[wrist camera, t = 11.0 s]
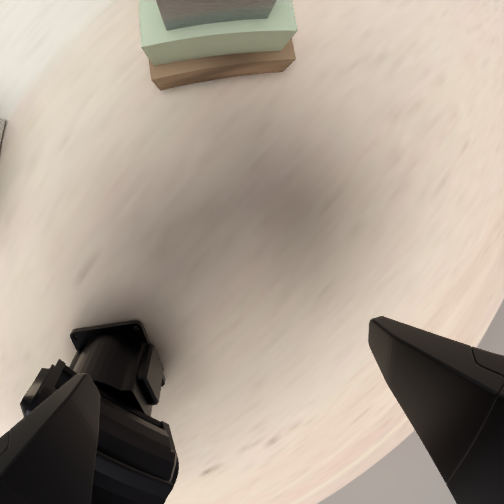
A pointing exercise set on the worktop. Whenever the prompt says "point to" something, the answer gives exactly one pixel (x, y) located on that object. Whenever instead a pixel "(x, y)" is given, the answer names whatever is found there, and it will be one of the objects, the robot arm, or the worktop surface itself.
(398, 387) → the robot arm
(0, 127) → the skincare box
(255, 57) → the base block
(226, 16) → the cube
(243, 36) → the top block
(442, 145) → the worktop surface
